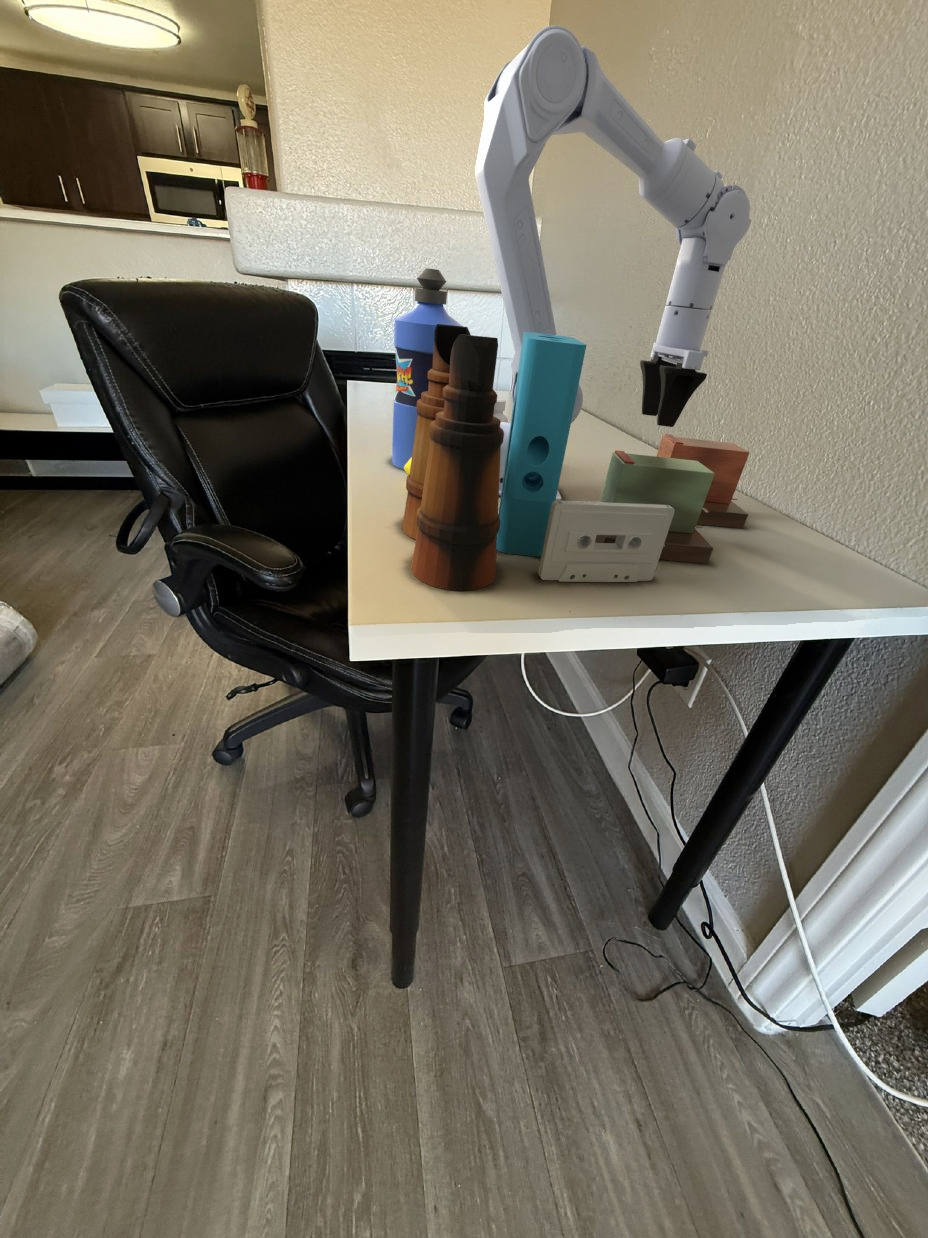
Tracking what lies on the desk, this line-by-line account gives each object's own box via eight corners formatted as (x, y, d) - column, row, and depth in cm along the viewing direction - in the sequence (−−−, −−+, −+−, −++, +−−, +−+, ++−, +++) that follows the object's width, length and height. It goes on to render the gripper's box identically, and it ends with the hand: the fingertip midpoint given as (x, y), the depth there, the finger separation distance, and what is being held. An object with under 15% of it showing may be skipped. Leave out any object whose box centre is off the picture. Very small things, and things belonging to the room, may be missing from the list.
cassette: (541, 582, 50) (556, 505, 46) (535, 573, 51) (549, 498, 47) (655, 583, 52) (679, 510, 48) (646, 574, 53) (669, 503, 49)
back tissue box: (715, 492, 75) (734, 441, 71) (730, 504, 71) (750, 450, 67) (647, 485, 75) (662, 433, 71) (658, 496, 70) (675, 442, 67)
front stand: (721, 569, 57) (728, 551, 55) (593, 557, 56) (597, 538, 55) (677, 521, 69) (682, 506, 67) (571, 511, 68) (575, 495, 67)
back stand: (754, 532, 68) (761, 516, 67) (648, 521, 67) (653, 506, 66) (712, 497, 80) (717, 483, 79) (621, 488, 80) (625, 473, 78)
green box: (678, 518, 64) (698, 458, 60) (693, 533, 59) (715, 470, 56) (598, 510, 63) (613, 449, 59) (607, 525, 59) (624, 461, 55)
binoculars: (505, 590, 47) (544, 345, 37) (415, 591, 46) (430, 334, 35) (467, 516, 63) (487, 327, 52) (398, 514, 61) (405, 318, 50)
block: (544, 564, 53) (588, 345, 43) (495, 558, 53) (527, 338, 43) (537, 522, 63) (571, 337, 53) (497, 517, 63) (523, 331, 53)
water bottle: (404, 474, 74) (412, 264, 61) (382, 456, 81) (385, 264, 68) (462, 471, 78) (481, 274, 65) (436, 454, 85) (449, 272, 72)
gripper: (743, 313, 60) (703, 434, 67) (698, 310, 72) (668, 413, 79) (684, 306, 60) (650, 428, 67) (648, 304, 72) (623, 408, 79)
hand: (656, 420), depth 73 cm, fingers open, 7 cm apart
